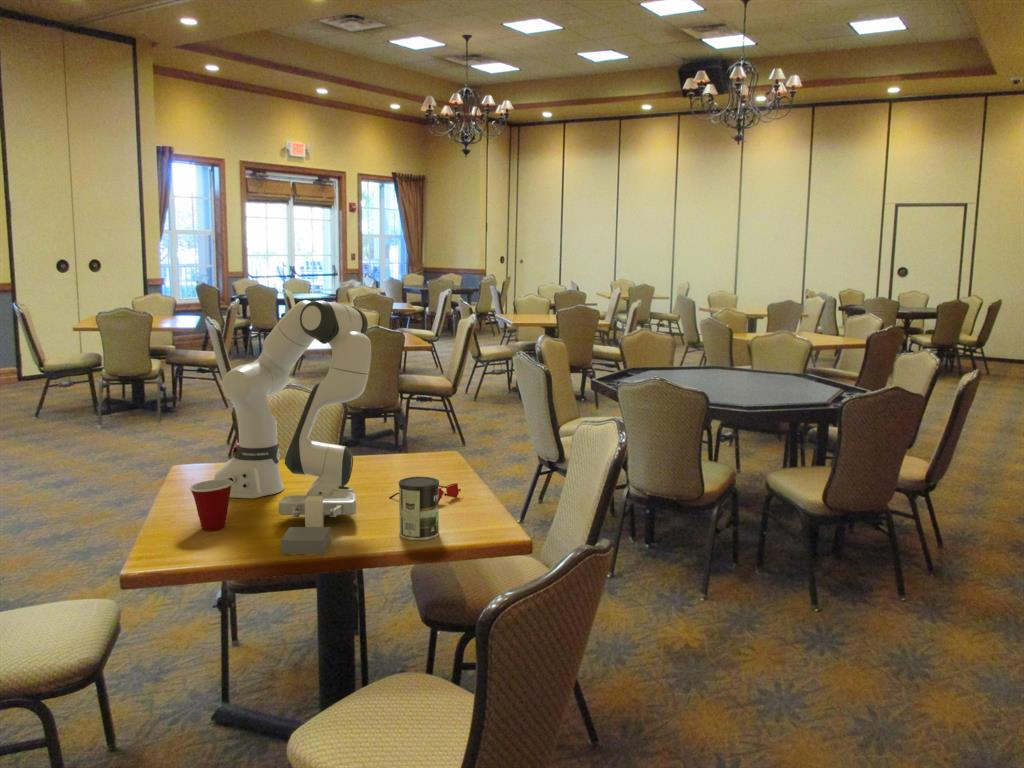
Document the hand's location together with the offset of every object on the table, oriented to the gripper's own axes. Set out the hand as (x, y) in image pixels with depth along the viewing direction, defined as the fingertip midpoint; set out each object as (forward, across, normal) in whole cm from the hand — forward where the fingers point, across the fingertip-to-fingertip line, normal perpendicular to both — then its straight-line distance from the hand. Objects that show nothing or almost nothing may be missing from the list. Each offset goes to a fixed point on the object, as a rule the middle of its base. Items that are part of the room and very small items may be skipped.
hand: (313, 514), depth 221 cm
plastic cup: (-5, -27, +5) cm, 28 cm away
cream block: (-1, 0, +5) cm, 5 cm away
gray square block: (+11, 0, +6) cm, 12 cm away
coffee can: (+1, +27, +5) cm, 27 cm away
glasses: (-33, +27, +6) cm, 43 cm away
